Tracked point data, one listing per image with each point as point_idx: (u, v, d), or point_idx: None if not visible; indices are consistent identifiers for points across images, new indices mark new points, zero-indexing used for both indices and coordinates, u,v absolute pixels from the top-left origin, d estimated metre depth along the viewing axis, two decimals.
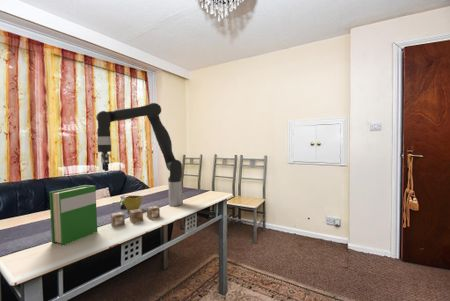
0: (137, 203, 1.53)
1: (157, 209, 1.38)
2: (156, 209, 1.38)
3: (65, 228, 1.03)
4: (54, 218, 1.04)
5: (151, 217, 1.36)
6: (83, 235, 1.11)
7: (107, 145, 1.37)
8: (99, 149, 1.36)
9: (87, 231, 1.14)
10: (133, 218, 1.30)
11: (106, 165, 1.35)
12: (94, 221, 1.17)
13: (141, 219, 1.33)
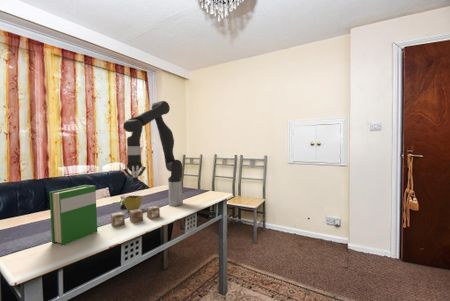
0: (137, 203, 1.53)
1: (157, 209, 1.38)
2: (156, 209, 1.38)
3: (65, 228, 1.03)
4: (54, 218, 1.04)
5: (151, 217, 1.36)
6: (83, 235, 1.11)
7: None
8: (139, 159, 1.31)
9: (87, 231, 1.14)
10: (133, 218, 1.30)
11: None
12: (94, 221, 1.17)
13: (141, 219, 1.33)
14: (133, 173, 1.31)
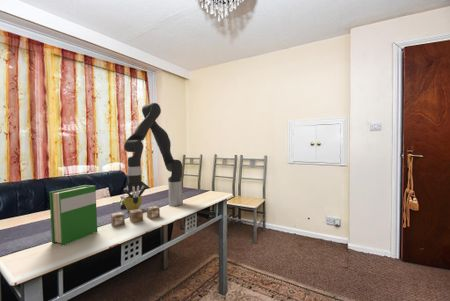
0: (137, 203, 1.53)
1: (157, 209, 1.38)
2: (156, 209, 1.38)
3: (65, 228, 1.03)
4: (54, 218, 1.04)
5: (151, 217, 1.36)
6: (83, 235, 1.11)
7: None
8: (140, 179, 1.32)
9: (87, 231, 1.14)
10: (133, 218, 1.30)
11: None
12: (94, 221, 1.17)
13: (141, 219, 1.33)
14: (134, 193, 1.31)
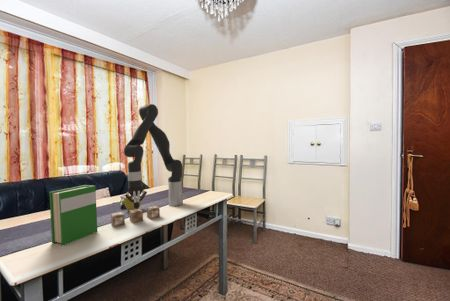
0: None
1: (157, 209, 1.38)
2: (156, 209, 1.38)
3: (65, 228, 1.03)
4: (54, 218, 1.04)
5: (151, 217, 1.36)
6: (83, 235, 1.11)
7: None
8: (140, 184, 1.32)
9: (87, 231, 1.14)
10: (133, 218, 1.30)
11: None
12: (94, 221, 1.17)
13: (141, 219, 1.33)
14: (134, 198, 1.32)
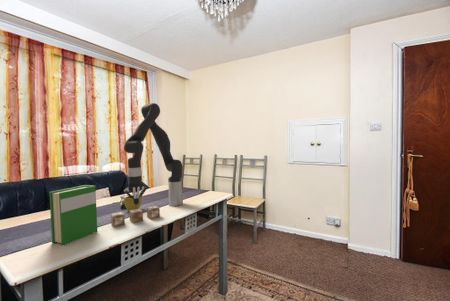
0: None
1: (157, 209, 1.38)
2: (156, 209, 1.38)
3: (65, 228, 1.03)
4: (54, 218, 1.04)
5: (151, 217, 1.36)
6: (83, 235, 1.11)
7: None
8: (140, 180, 1.32)
9: (87, 231, 1.14)
10: (133, 218, 1.30)
11: None
12: (94, 221, 1.17)
13: (141, 219, 1.33)
14: (134, 194, 1.32)
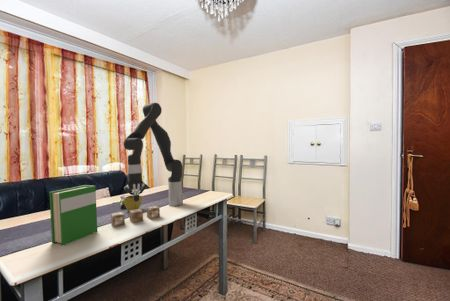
0: (137, 203, 1.53)
1: (157, 209, 1.38)
2: (156, 209, 1.38)
3: (65, 228, 1.03)
4: (54, 218, 1.04)
5: (151, 217, 1.36)
6: (83, 235, 1.11)
7: None
8: (140, 177, 1.32)
9: (87, 231, 1.14)
10: (133, 218, 1.30)
11: None
12: (94, 221, 1.17)
13: (141, 219, 1.33)
14: (134, 191, 1.31)
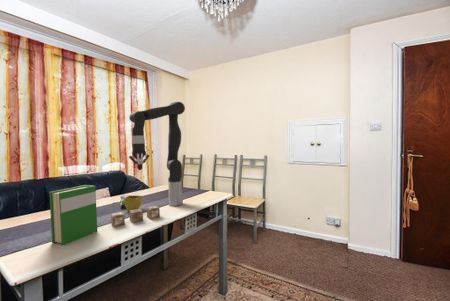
0: (137, 203, 1.53)
1: (157, 209, 1.38)
2: (156, 209, 1.38)
3: (65, 228, 1.03)
4: (54, 218, 1.04)
5: (151, 217, 1.36)
6: (83, 235, 1.11)
7: None
8: (143, 148, 1.44)
9: (87, 231, 1.14)
10: (133, 218, 1.30)
11: None
12: (94, 221, 1.17)
13: (141, 219, 1.33)
14: (138, 160, 1.44)
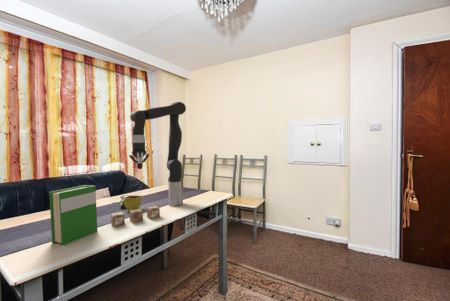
0: (137, 203, 1.53)
1: (157, 209, 1.38)
2: (156, 209, 1.38)
3: (65, 228, 1.03)
4: (54, 218, 1.04)
5: (151, 217, 1.36)
6: (83, 235, 1.11)
7: None
8: (143, 147, 1.44)
9: (87, 231, 1.14)
10: (133, 218, 1.30)
11: None
12: (94, 221, 1.17)
13: (141, 219, 1.33)
14: (138, 159, 1.44)
